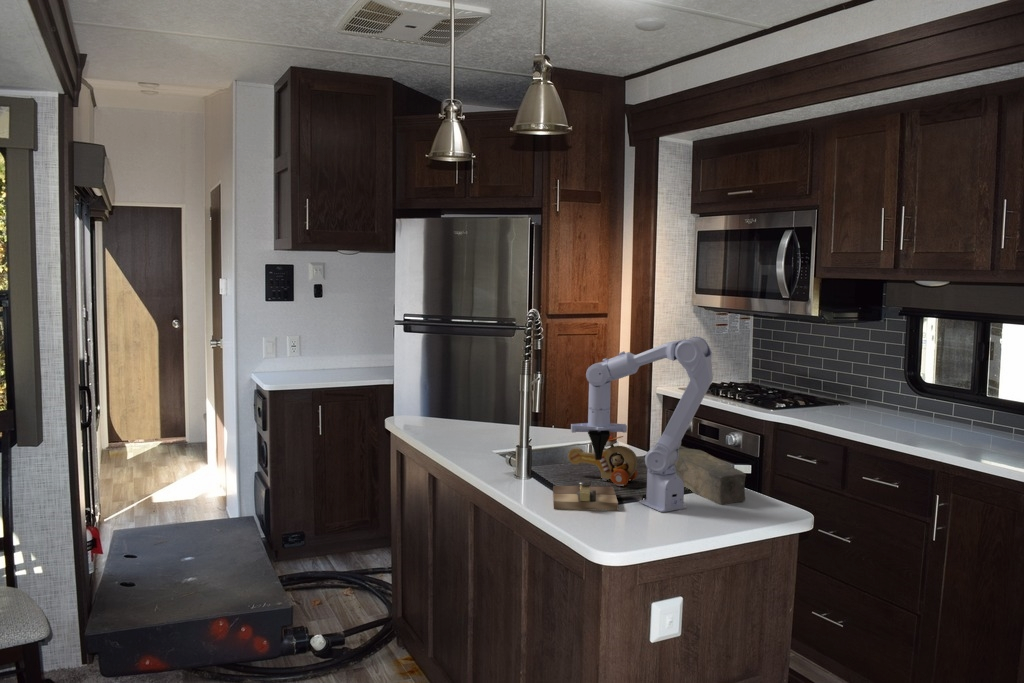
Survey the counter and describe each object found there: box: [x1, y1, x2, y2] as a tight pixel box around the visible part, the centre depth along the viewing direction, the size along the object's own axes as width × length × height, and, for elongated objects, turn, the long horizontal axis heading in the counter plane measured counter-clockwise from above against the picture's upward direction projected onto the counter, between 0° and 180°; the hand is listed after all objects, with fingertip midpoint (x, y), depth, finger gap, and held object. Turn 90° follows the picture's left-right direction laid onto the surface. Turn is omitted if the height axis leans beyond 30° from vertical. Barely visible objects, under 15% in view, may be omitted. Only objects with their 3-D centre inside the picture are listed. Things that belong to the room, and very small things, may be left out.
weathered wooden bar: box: [674, 448, 747, 506], centre depth 225 cm, size 10×26×10 cm, turn 24°
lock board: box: [552, 485, 619, 512], centre depth 214 cm, size 16×14×5 cm
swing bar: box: [578, 480, 592, 501], centre depth 210 cm, size 10×3×3 cm, turn 175°
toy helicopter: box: [567, 435, 638, 486], centre depth 233 cm, size 8×21×14 cm, turn 60°
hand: (598, 458), depth 218 cm, fingers closed
